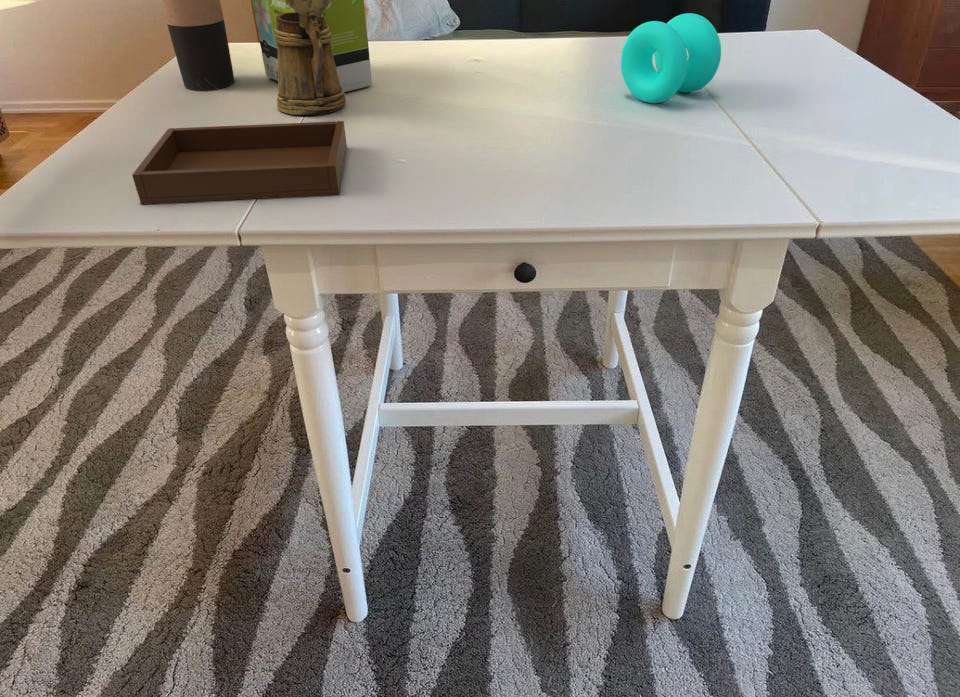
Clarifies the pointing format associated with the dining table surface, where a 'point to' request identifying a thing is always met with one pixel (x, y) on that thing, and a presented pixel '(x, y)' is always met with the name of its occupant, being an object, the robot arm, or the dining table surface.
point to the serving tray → (243, 163)
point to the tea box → (346, 42)
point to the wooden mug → (306, 61)
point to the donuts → (670, 57)
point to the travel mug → (200, 43)
